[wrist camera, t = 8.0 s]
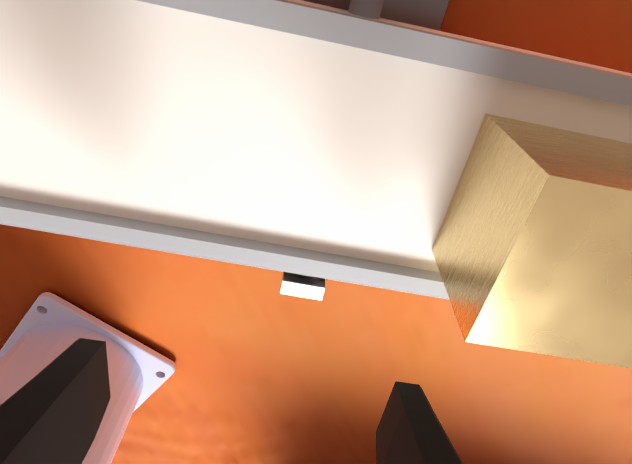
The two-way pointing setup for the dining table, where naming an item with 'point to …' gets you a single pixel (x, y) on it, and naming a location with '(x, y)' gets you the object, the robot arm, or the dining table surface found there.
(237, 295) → the dining table surface
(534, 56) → the beam
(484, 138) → the brass bar
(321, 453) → the dining table surface
